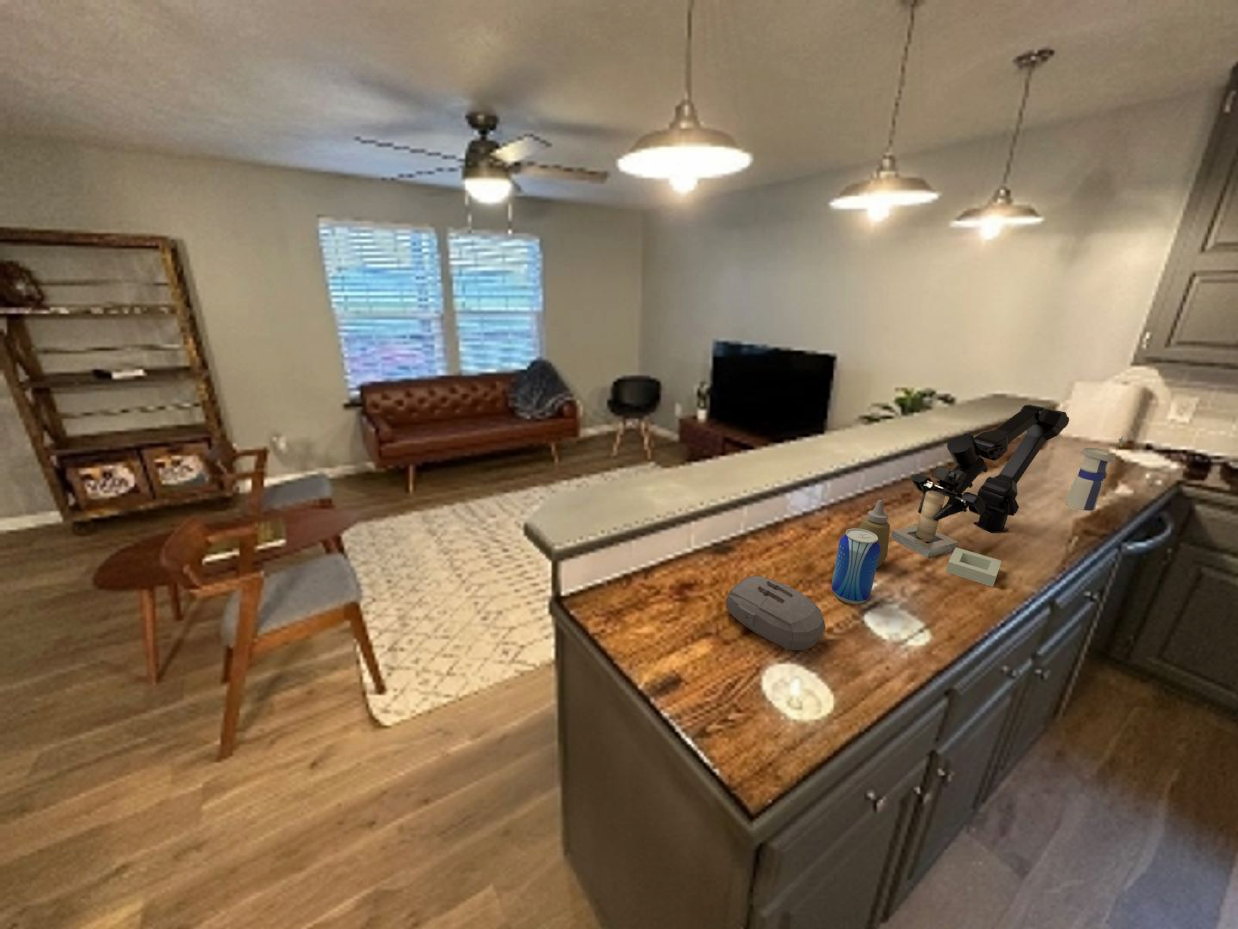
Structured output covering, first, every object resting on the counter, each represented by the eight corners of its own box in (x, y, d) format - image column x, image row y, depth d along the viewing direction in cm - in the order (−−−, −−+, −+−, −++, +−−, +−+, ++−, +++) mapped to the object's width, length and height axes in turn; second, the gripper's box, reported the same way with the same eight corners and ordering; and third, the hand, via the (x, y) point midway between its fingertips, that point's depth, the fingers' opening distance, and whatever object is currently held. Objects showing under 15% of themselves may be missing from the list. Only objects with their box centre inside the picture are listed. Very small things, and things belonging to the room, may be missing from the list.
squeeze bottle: (882, 558, 132) (896, 496, 126) (887, 573, 125) (901, 509, 119) (849, 553, 135) (861, 492, 129) (852, 568, 128) (865, 504, 122)
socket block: (919, 531, 147) (920, 524, 146) (956, 550, 137) (958, 542, 136) (890, 538, 143) (892, 530, 142) (927, 557, 133) (929, 549, 132)
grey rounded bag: (716, 616, 109) (797, 667, 94) (719, 583, 106) (804, 631, 92) (757, 591, 118) (837, 634, 104) (761, 560, 115) (844, 601, 101)
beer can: (866, 610, 111) (880, 548, 105) (827, 598, 115) (838, 537, 110) (871, 592, 118) (884, 532, 112) (833, 581, 122) (844, 523, 116)
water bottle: (1083, 500, 170) (1108, 431, 162) (1103, 511, 162) (1131, 438, 154) (1057, 499, 171) (1081, 430, 162) (1076, 510, 163) (1102, 437, 154)
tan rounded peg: (923, 531, 142) (933, 490, 138) (938, 538, 138) (949, 496, 134) (912, 534, 140) (922, 492, 136) (926, 541, 136) (937, 498, 132)
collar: (953, 557, 133) (955, 547, 132) (998, 570, 127) (1001, 560, 126) (945, 571, 126) (948, 561, 125) (992, 587, 120) (996, 576, 119)
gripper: (923, 446, 141) (887, 487, 141) (990, 468, 124) (949, 514, 124) (936, 469, 146) (901, 508, 146) (1002, 492, 130) (963, 537, 130)
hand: (926, 516), depth 136 cm, fingers closed on tan rounded peg, 4 cm apart
